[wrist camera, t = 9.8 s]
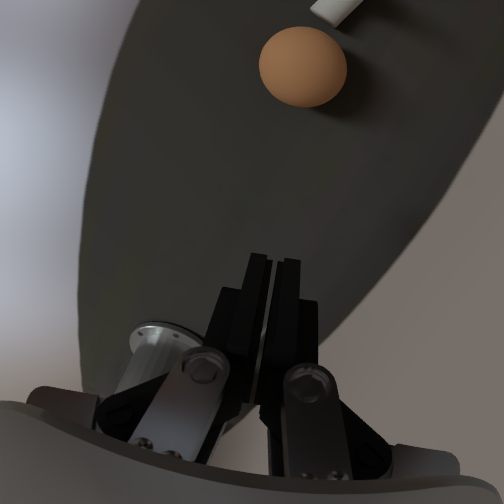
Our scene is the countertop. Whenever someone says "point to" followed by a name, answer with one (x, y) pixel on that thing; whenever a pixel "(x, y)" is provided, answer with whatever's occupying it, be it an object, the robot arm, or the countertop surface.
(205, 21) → the countertop surface
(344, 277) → the countertop surface
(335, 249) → the countertop surface
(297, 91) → the ball
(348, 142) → the countertop surface
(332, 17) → the pin
